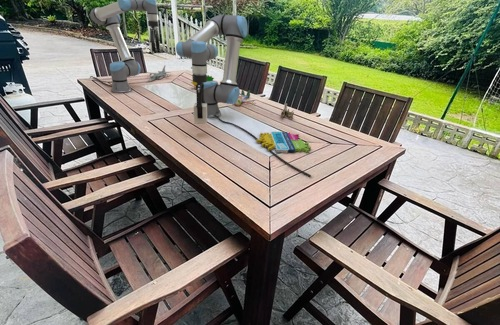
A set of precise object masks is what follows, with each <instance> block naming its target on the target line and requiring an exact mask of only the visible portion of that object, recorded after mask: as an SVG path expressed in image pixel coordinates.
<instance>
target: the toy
mask: <svg viewBox="0 0 500 325" xmlns="http://www.w3.org/2000/svg"><path fill="white" fill-rule="evenodd" d="M240 92H241V93H240V95H239V98H238V100H237V102H236V103H235V104H233V105H235V106H242V103H243V104H247V105H252V106H255V105H256V104H257V103H256V102H254V101H253V100H252V101H251V102H250V101H248V100H246V99H248V98H250V97H251V90H250V89H249V90H248V91H247V92H246V93H245V91H244V89H242V90H241V91H240Z"/></svg>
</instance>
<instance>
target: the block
mask: <svg viewBox="0 0 500 325" xmlns="http://www.w3.org/2000/svg"><path fill="white" fill-rule="evenodd" d="M196 106H197V102H195V103H194V105H193V123H194V125H207V124H208V118H207V103H202V112H203V119H200V118H198V116H197V107H196Z"/></svg>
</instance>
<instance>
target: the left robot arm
mask: <svg viewBox="0 0 500 325" xmlns="http://www.w3.org/2000/svg"><path fill="white" fill-rule="evenodd" d="M130 11H137V12H146V17H147V20H148V21H147V26H148V27H150V28H149V43H150V44H151V52H152V53H156V52H157V51H160V50H161V46H160V41H161V39H160V35H159V29H158V27H159V24H160V23H159V14H158V4H157V0H117V1H114V2H112V3H110V4H109V3H108V4H107V5H103V6H101V7H100V6H98V7H93V8H92V9H91V10H90V14H89V15H90V19H91V20H92V21H93V23H94V24H96V25H100V26H104V27H105V30H107V31H109V34H110V36H111V38H112V41H113V43H114V45H115V48H116V50H117V53H118V55H119V56H120V59H121V60H119V61H112V62H111V63H109V71H110V77H111V85H110V84H108V83H106V82H104V81H102V80H100V79H99V78H97V77H95V76H92V75H90V76H89V79H91V78H93V79H95V80H97V81H99V82H100V83H101V84H102V85H105V86H108V87H110V88H111V92H112V93H116V94H124V93H131V92H132V88H131V86H130V84H129V82H128V78H131V77H135V76H138V75H140V74H141V70H142V67H141V65H140V63H139V62H138V61H136V60H135V58H134V57H132V55H131V52H130V50H129V48H128V45H127V42H126V41H125V39H124V36H123V33H122V31H121V28H120V27H121V22H122V21H121V16H120V14H123V13H127V12H130Z"/></svg>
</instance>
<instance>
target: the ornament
mask: <svg viewBox="0 0 500 325" xmlns="http://www.w3.org/2000/svg"><path fill="white" fill-rule="evenodd" d="M193 74H194V73H192V75H193ZM214 79H215V77H213V76H212V75H209V74H208V75H207V81H214ZM191 84H192V85H193V86H194V87H195V88H196V85H197V83H196V82H193V80H192V81H191Z"/></svg>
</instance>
